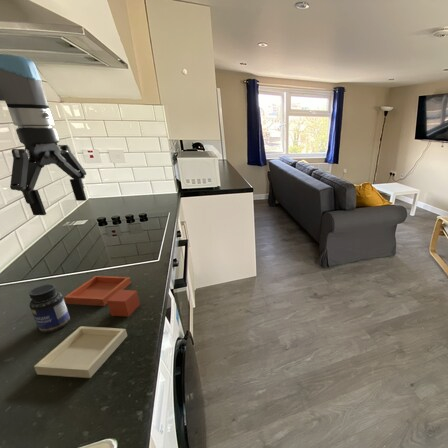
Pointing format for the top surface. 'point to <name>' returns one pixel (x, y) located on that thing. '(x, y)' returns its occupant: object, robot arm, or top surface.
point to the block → (123, 303)
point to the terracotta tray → (97, 290)
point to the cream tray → (81, 352)
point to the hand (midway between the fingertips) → (62, 207)
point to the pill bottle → (48, 308)
